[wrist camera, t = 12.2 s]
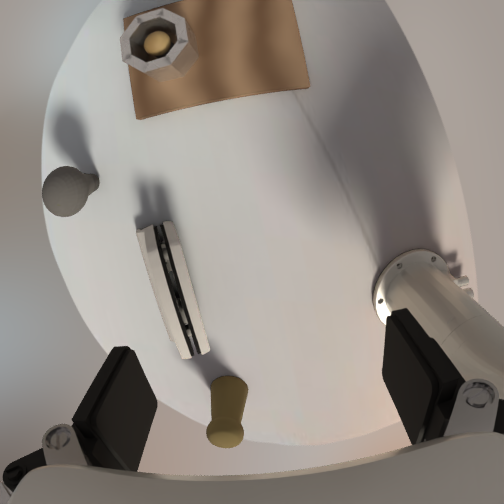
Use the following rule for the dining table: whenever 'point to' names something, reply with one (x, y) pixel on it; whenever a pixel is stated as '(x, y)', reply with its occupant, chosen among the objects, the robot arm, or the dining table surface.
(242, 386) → the cork
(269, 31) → the keeper base
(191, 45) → the white hollow octagonal cylinder
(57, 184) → the light bulb
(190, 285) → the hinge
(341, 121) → the dining table surface
